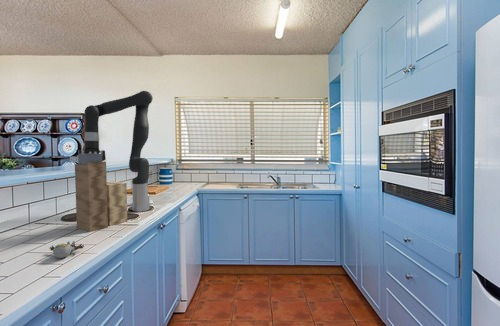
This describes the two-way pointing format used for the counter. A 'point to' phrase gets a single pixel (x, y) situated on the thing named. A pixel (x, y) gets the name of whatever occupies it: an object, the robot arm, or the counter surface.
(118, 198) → the tan wooden block
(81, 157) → the bar
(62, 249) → the toy
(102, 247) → the counter surface
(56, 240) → the counter surface
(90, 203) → the stand
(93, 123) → the robot arm
